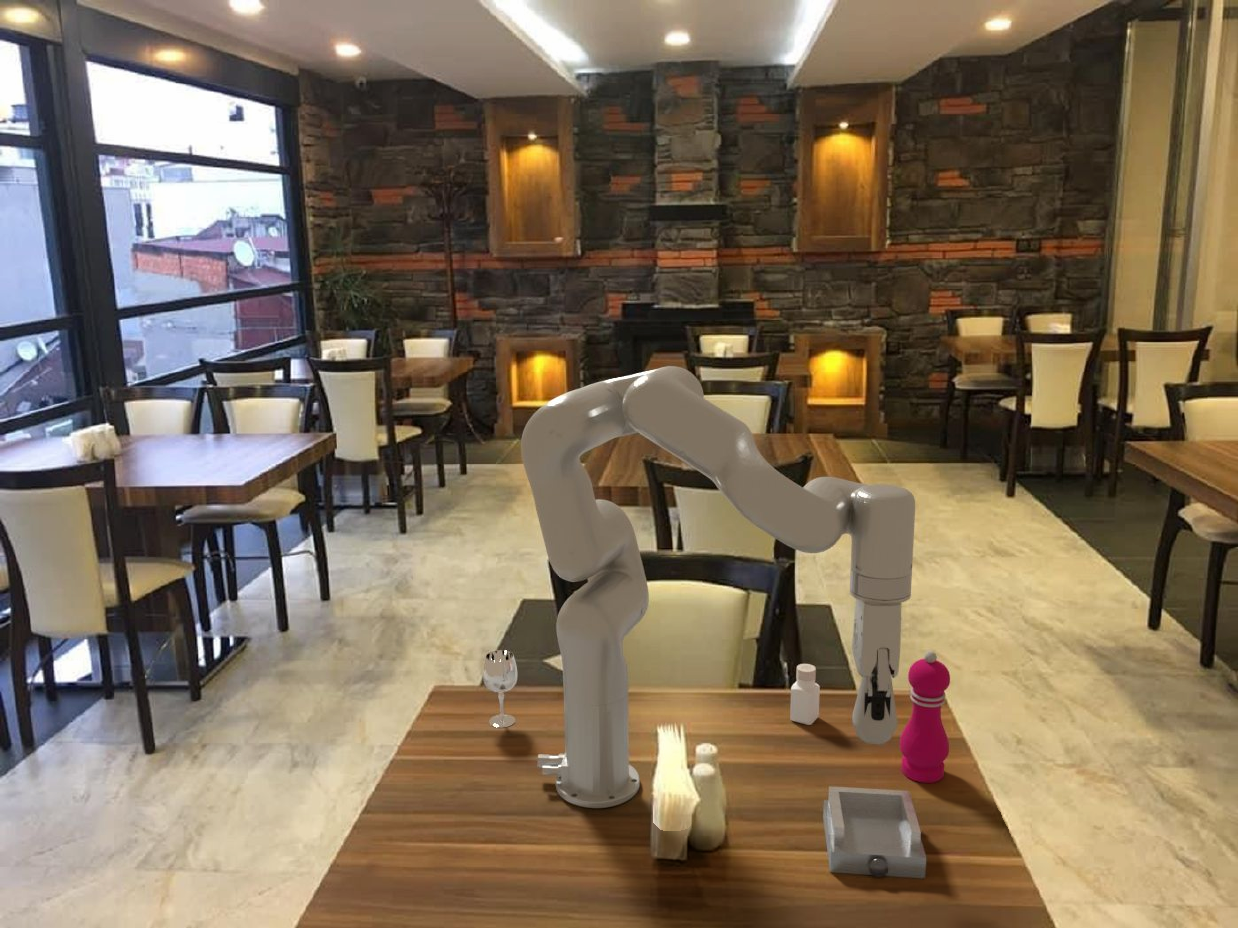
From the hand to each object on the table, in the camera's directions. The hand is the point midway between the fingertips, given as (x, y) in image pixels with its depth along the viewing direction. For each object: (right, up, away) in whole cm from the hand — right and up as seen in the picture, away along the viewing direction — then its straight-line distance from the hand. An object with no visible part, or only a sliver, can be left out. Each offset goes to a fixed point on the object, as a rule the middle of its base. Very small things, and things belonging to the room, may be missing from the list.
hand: (874, 714), depth 131 cm
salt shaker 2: (0, -3, +1) cm, 3 cm away
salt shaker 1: (-2, -11, +39) cm, 41 cm away
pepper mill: (+13, -15, +23) cm, 30 cm away
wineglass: (-53, -11, +40) cm, 67 cm away
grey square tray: (+1, -19, +5) cm, 20 cm away
